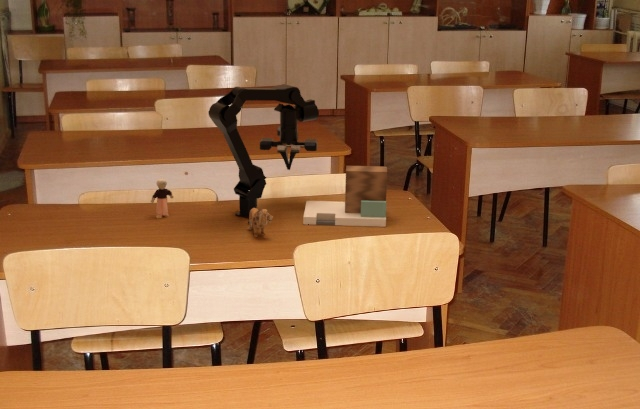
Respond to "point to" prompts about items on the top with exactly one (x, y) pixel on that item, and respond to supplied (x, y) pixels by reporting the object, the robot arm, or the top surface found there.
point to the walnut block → (364, 186)
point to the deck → (345, 214)
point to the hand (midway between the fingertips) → (288, 169)
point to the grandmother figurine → (161, 198)
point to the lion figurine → (259, 220)
